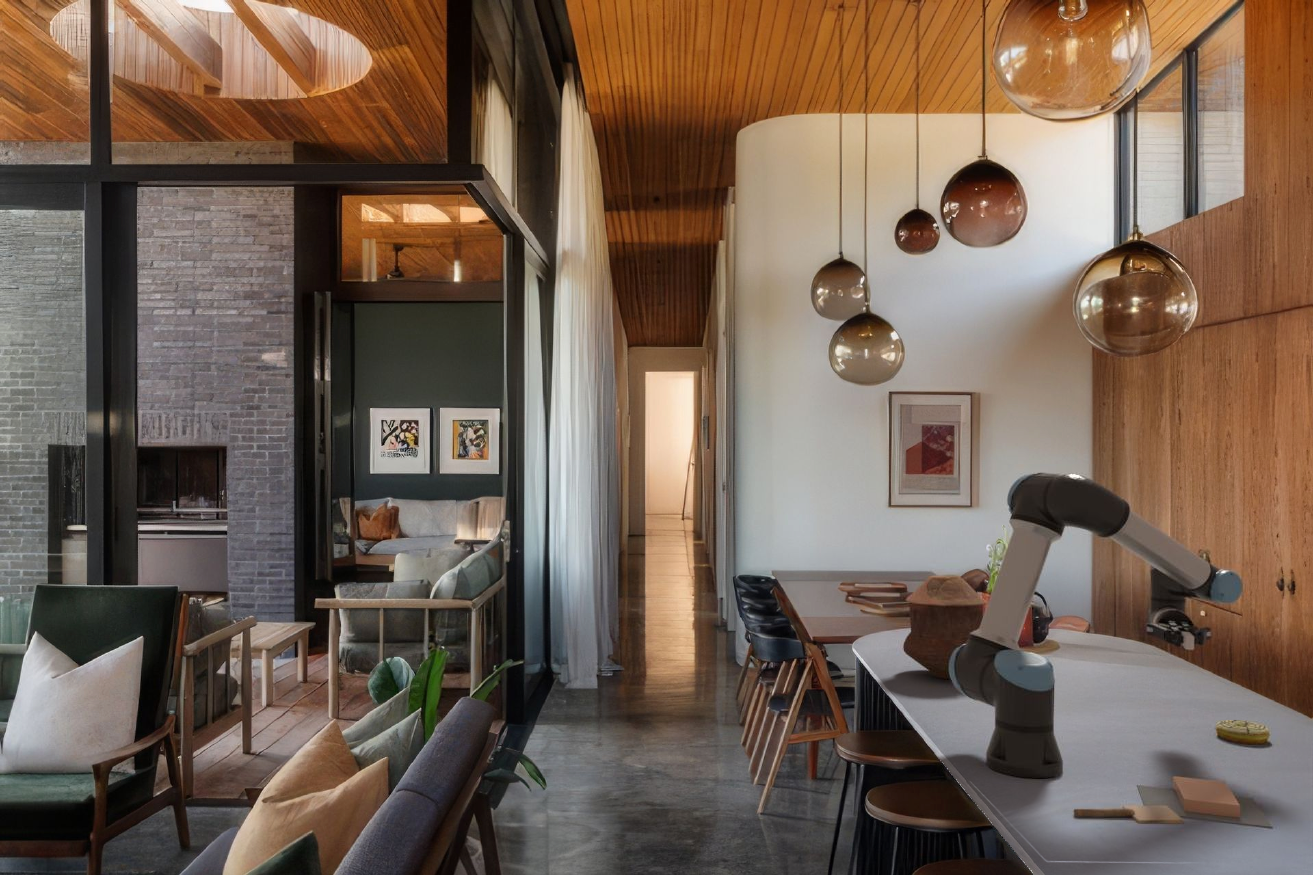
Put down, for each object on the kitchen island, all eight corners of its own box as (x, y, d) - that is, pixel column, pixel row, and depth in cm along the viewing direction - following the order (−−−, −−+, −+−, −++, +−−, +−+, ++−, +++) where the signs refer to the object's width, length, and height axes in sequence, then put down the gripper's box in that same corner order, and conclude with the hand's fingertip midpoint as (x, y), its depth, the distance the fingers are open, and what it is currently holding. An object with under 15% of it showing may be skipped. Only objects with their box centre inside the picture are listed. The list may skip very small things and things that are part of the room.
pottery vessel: (1000, 688, 280) (1000, 581, 280) (907, 684, 284) (907, 579, 284) (984, 668, 305) (985, 571, 306) (899, 665, 309) (900, 569, 310)
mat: (1146, 813, 181) (1146, 811, 181) (1137, 786, 196) (1137, 784, 196) (1272, 829, 174) (1272, 826, 174) (1252, 799, 189) (1252, 797, 189)
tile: (1173, 787, 195) (1184, 811, 182) (1173, 775, 195) (1184, 798, 182) (1225, 793, 192) (1240, 817, 179) (1225, 781, 192) (1240, 805, 179)
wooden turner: (1082, 824, 177) (1082, 816, 177) (1068, 809, 183) (1068, 802, 183) (1183, 822, 177) (1183, 815, 176) (1166, 808, 183) (1166, 801, 182)
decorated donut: (1233, 731, 238) (1233, 715, 238) (1279, 742, 229) (1279, 726, 229) (1206, 736, 234) (1206, 720, 234) (1251, 748, 224) (1251, 731, 224)
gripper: (1205, 645, 225) (1225, 664, 202) (1141, 640, 229) (1154, 658, 207) (1205, 611, 225) (1226, 627, 203) (1142, 607, 229) (1155, 622, 207)
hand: (1190, 642), depth 205 cm, fingers closed
